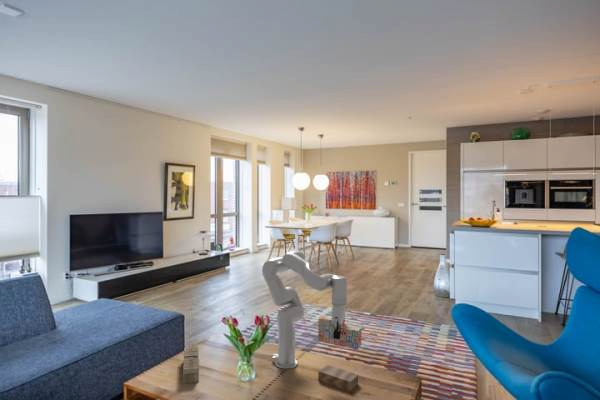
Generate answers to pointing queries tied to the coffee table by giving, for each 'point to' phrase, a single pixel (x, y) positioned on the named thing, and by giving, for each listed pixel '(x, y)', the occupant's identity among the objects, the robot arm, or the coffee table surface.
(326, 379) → the walnut block
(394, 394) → the coffee table surface
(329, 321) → the stack of blocks
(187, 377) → the block tower
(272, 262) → the robot arm
